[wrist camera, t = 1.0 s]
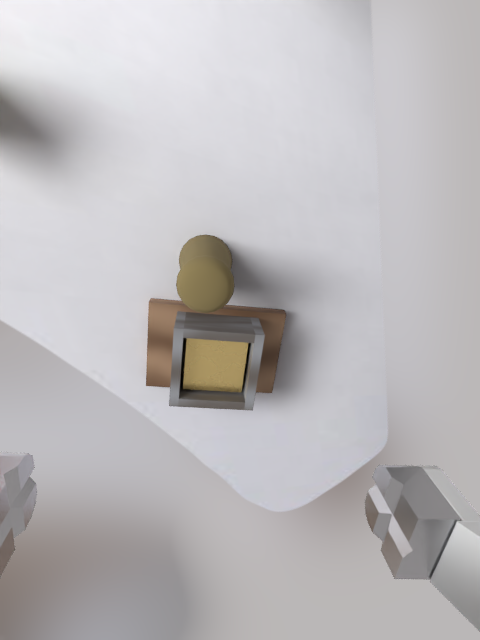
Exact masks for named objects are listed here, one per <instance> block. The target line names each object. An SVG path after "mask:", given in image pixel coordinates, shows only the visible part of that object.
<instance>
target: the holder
mask: <svg viewBox="0 0 480 640" xmlns="http://www.w3.org/2000/svg"><path fill="white" fill-rule="evenodd" d="M285 318H286V313H285V311H284V310H278V309H267V308H256V307H244V306H233V305H225V306H224V307H223V308H221V309H219V310H217V311H215V312H210V313H201V312H196V311H194V310H192V309H190V308H189V307H188V306H186V305H185V304H184V303H183V302H182V301H175V300H164V299H153V298H151V299H150V301H149V314H148V345H147V376H146V386H158V387H170V400H169V406H178V407H198V408H217V409H237V410H253V405H254V399H255V393H256V392H262V393H272V390H273V384H274V379H275V373H276V368H277V362H278V357H279V351H280V346H281V340H282V335H283V329H284V324H285ZM187 338H191V339H204V340H218V341H231V342H245V343H248V350H247V357H246V364H245V371H244V378H243V385H242V392H226V391H208V390H191V389H183V381H184V368H185V354H186V341H187Z"/></svg>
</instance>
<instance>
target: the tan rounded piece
mask: <svg viewBox="0 0 480 640" xmlns="http://www.w3.org/2000/svg"><path fill="white" fill-rule="evenodd" d="M179 264H180V269H181V270H180V272H179V274H178V276H177V283H176V286H177V291H178V295H179V296H180V298H181V300H182V302H183V303H184V304H185V305H186V306H188V307H189V308H190V309H192V310H194V311H196V312H201V313H210V312H215V311H217V310H219V309H221V308H223V307H224V306H225V305H226V304H227V303H228V302H229V300H230V298H231V296H232V295H233V291H234V278H233V275H232V273H231V271H230V270H231V265H232V257H231V253H230V251H229V248H228V246H227V245H226V244H225V243H224V242H223V241H222V240H220V239H218V238H217V237H215V236H210V235H200V236H196V237H194V238H192V239H190V240H189V241H188V242H187V243H186V244H185V245H184V246H183V248H182V250H181V252H180V257H179Z"/></svg>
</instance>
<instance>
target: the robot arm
mask: <svg viewBox="0 0 480 640" xmlns="http://www.w3.org/2000/svg"><path fill="white" fill-rule="evenodd" d="M33 469H34V461H33V456H32V455H30V454H28V453H9V452H0V577H1V575H2V573H3V571H4V570H5V568H6V566H7V564H8V562H9V560H10V558H11V556H12V554H13V553H14V551H15V546H14V538H15V537H16V536H18V535H19V534H20V533H21V532H23V531H24V530H25V529H26V527H27V525H28V523H29V521H30V519H31V517H32V514H33V510H34V507H35V504H36V495H37V488H36V483H35V482H34V481H33V480H32V479H31V478H30V477H29V476H30V475H31V473H32V471H33ZM373 479H374V481H375V483H376V484H375V485H374V486H373V487H372V488H371V489H370V490H368V493H367V496H366V500H365V512H366V517H367V521H368V524H369V526H370V528H371V530H372V532H373V533H374V534H375V535H376V536H377V537H378V538H380V539H381V540H382V541H383V542H382V547H381V551H382V554H383V556H384V558H385V560H386V562H387V564H388V566H389V568H390V570H391V572H392V574H393V577H394V579H430V582H431V583H432V584H433V585H434V586H435V587H436V588H437V589H438V590H439V591H440V592H441V593H442V594H443V595H444V596H445V597H446V598H447V599H448V600H449V601H450V602H451V603H452V604H453V605H454V606H455V607H456V608H457V609H458V610H459V611H460V612H461V613H462V614H463V615H464V616H465V617H466V618H467V619H468V620H469V621H470V622H471V623H472V624H473V625H474V626H475V627H476V628H477V629H478V630H479V631H480V515H479V514H478V513H477V511H476V510H475V509H474V508H473V507H472V505H471V504H470V503H469V502H468V501H467V499H466V498H465V497H464V496H463V494H462V493H461V492H460V491H459V490H458V488H457V487H456V486H455V485H454V483H452V481H451V480H450V479H449V477H448V476H447V475H446V474H445V473H444V471H443V470H442V469H440V468H438V467H437V466H401V465H379V466H378V467H377V468H376V469H375V471H374V474H373Z"/></svg>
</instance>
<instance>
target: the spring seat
mask: <svg viewBox="0 0 480 640" xmlns="http://www.w3.org/2000/svg"><path fill="white" fill-rule="evenodd" d="M247 350H248V343H245V342H231V341H218V340H204V339H191V338H187V341H186V354H185V368H184V381H183V389H191V390H208V391H226V392H242V385H243V378H244V371H245V364H246V357H247Z"/></svg>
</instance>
